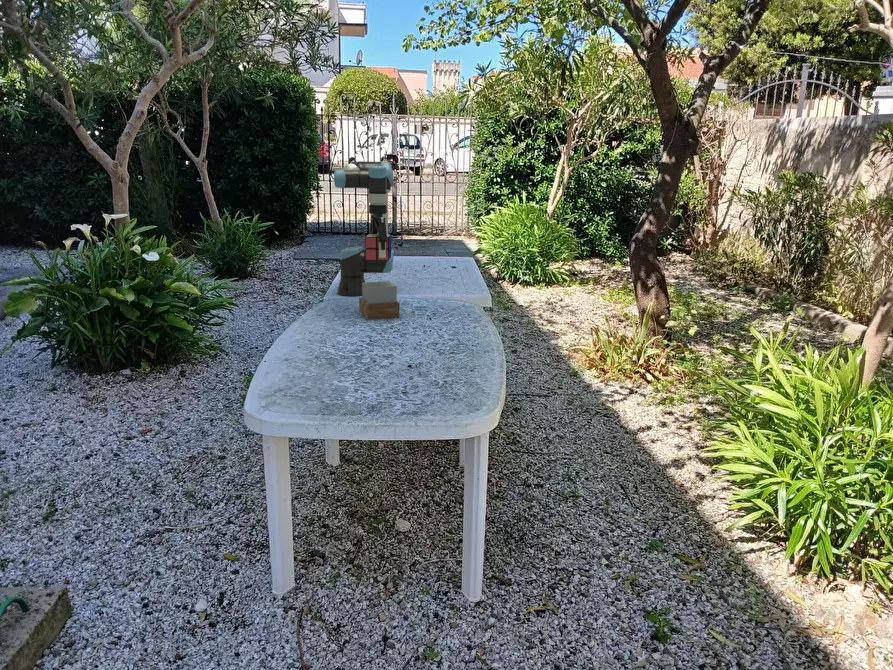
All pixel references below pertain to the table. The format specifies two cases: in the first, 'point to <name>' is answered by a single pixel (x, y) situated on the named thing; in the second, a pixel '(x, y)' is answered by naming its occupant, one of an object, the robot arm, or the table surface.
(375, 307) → the walnut block
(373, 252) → the puzzle cube
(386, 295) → the slate block
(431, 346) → the table surface
